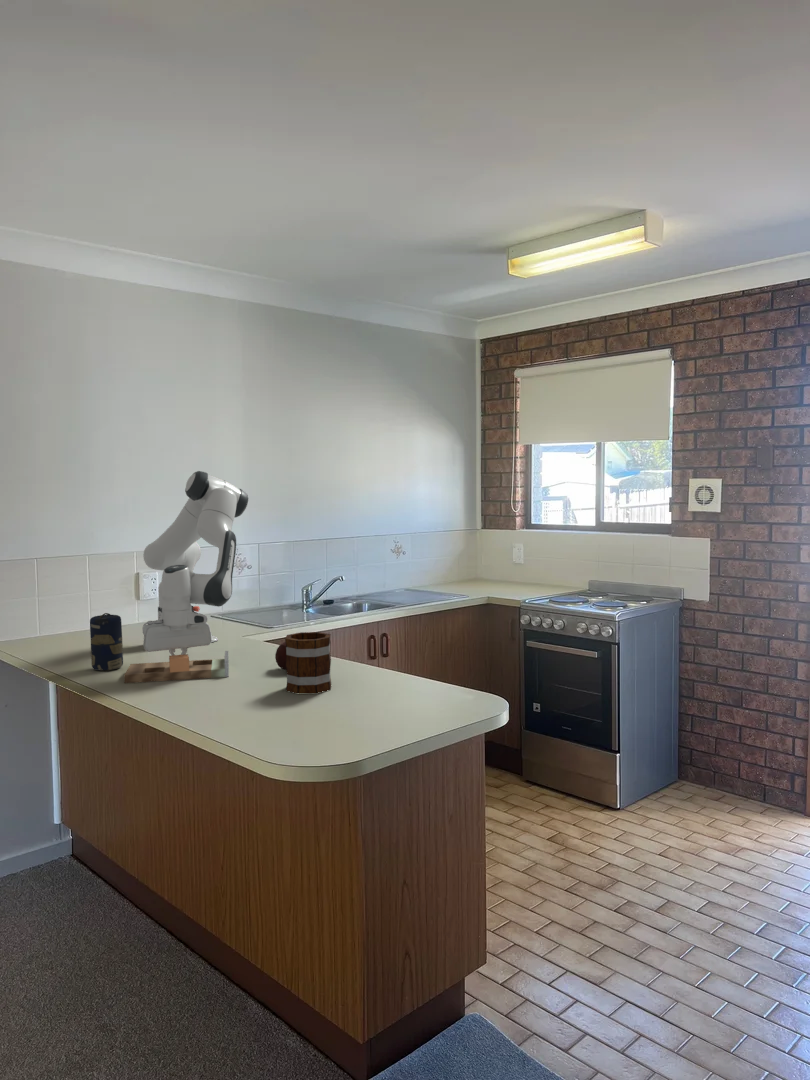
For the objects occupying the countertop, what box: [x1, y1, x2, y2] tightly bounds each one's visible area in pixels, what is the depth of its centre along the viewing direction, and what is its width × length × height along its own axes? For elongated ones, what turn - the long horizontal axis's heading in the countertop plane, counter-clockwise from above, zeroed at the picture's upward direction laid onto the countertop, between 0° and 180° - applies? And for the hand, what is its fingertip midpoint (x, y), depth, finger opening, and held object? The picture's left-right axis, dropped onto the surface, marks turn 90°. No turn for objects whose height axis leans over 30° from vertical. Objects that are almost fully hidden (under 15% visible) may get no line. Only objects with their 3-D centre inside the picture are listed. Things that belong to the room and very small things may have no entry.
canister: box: [89, 612, 124, 671], centre depth 252 cm, size 10×10×18 cm
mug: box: [284, 631, 332, 694], centre depth 227 cm, size 20×14×15 cm
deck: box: [123, 658, 226, 684], centre depth 243 cm, size 29×15×2 cm, turn 102°
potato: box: [274, 641, 286, 671], centre depth 247 cm, size 9×12×9 cm
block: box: [168, 653, 190, 673], centre depth 239 cm, size 6×6×4 cm
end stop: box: [224, 650, 230, 678], centre depth 247 cm, size 1×15×5 cm, turn 12°
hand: (178, 662), depth 244 cm, fingers closed
